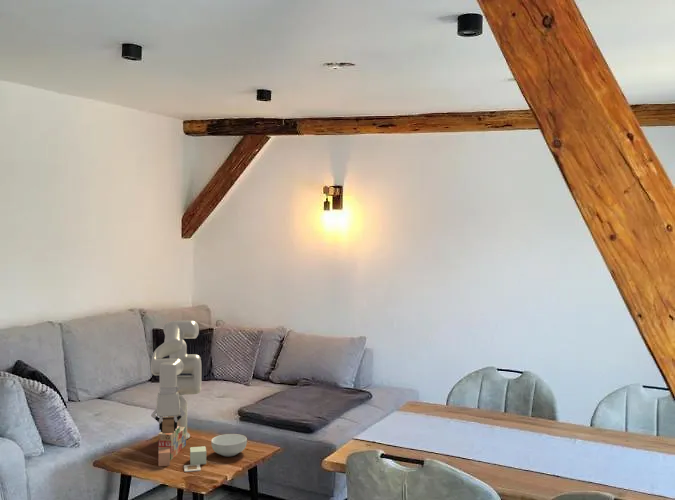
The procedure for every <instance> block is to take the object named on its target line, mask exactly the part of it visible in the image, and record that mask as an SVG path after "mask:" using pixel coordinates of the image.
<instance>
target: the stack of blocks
mask: <svg viewBox="0 0 675 500" xmlns="http://www.w3.org/2000/svg"><path fill="white" fill-rule="evenodd" d="M157 434H158V440H157V441H158V443H157V445H158V447H157V449H158V453H157V454H158V457H159V450H160V449H170V461H171V460H172V459H174V458H175V457H176V456H177V455H178V454H179V453H180V451H181V450H182V449H184V448H185V446H186V445H187V439H186V427H180V426H177V429H176V431H174V433H165V434H162V432H161V431H160V432H159V433H157ZM158 457H157V458H158Z"/></svg>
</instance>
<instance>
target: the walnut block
mask: <svg viewBox="0 0 675 500" xmlns="http://www.w3.org/2000/svg"><path fill="white" fill-rule="evenodd" d="M165 433H174V416H170V417H168V416H165V417H163V418H162V434H165Z"/></svg>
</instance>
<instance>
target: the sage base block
mask: <svg viewBox="0 0 675 500" xmlns="http://www.w3.org/2000/svg"><path fill="white" fill-rule="evenodd" d="M189 463H190V464H189V465H195V464H200V465H207V447H206V446H205V445H204V446H203V445H202V446H192V447H189Z"/></svg>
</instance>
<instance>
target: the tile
mask: <svg viewBox="0 0 675 500" xmlns="http://www.w3.org/2000/svg"><path fill="white" fill-rule="evenodd" d="M183 469H184V471H183V472H184V473H188V472H201V471H202V469H201V464H195V465H190V464H185V465H183Z"/></svg>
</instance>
